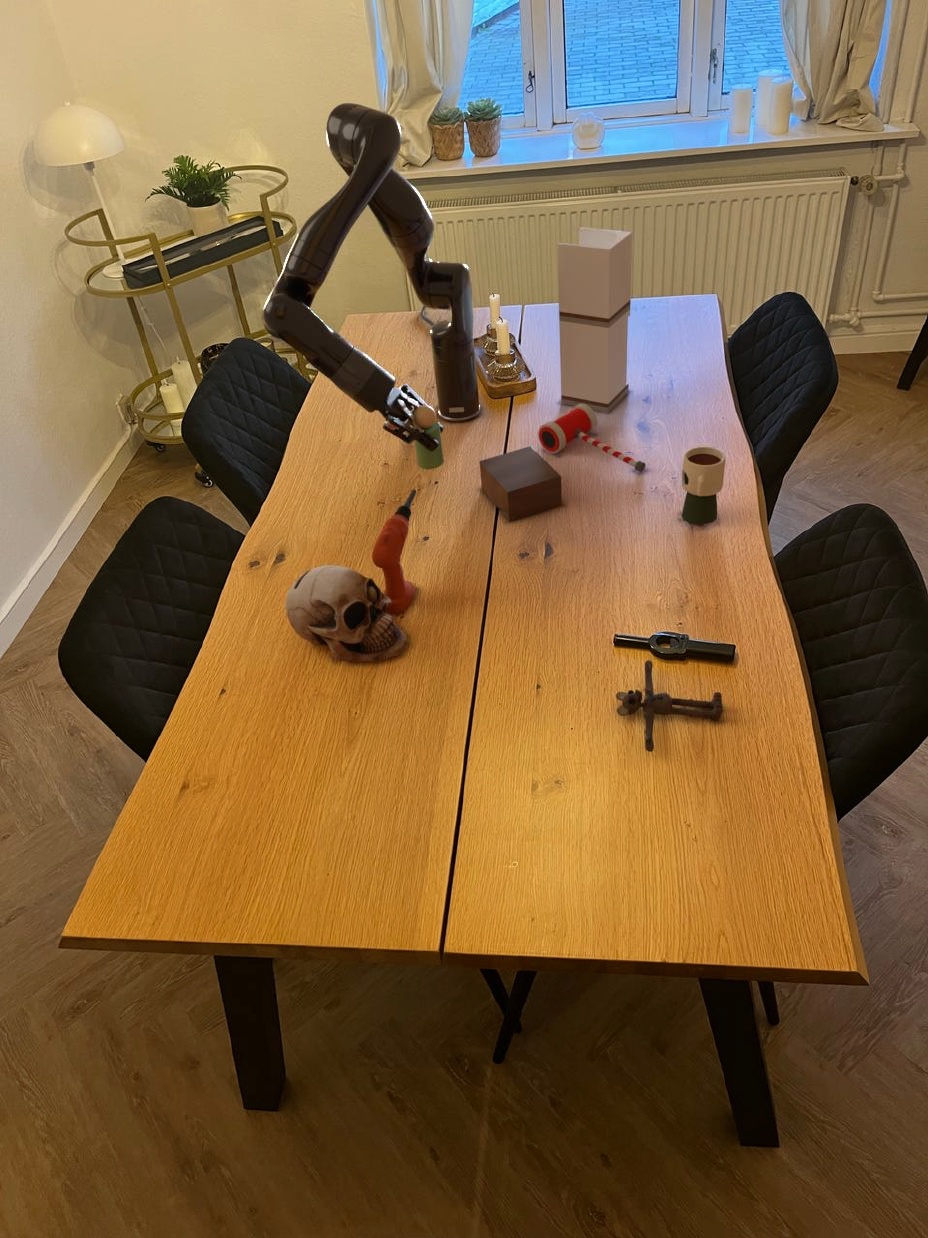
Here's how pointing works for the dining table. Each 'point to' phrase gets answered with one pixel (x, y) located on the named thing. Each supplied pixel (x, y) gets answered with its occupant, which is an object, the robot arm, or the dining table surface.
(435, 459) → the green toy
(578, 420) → the toy hammer
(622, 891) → the dining table surface
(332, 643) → the coin bank
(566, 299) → the beige tall block
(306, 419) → the dining table surface
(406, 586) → the toy drill
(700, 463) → the character mug
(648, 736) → the bear figurine
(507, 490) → the walnut block
